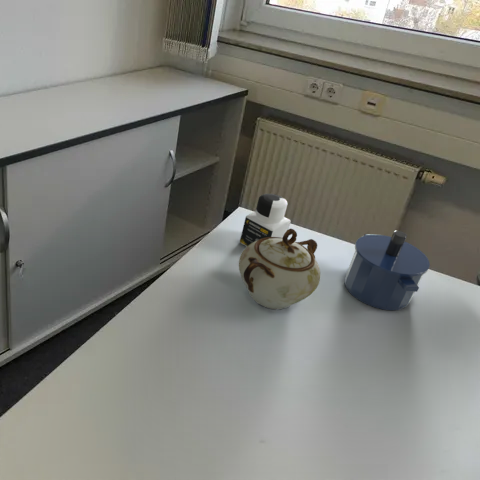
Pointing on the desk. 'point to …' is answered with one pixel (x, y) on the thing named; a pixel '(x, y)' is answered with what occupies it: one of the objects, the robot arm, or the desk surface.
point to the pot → (379, 285)
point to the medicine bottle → (266, 220)
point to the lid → (392, 254)
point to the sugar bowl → (280, 270)
